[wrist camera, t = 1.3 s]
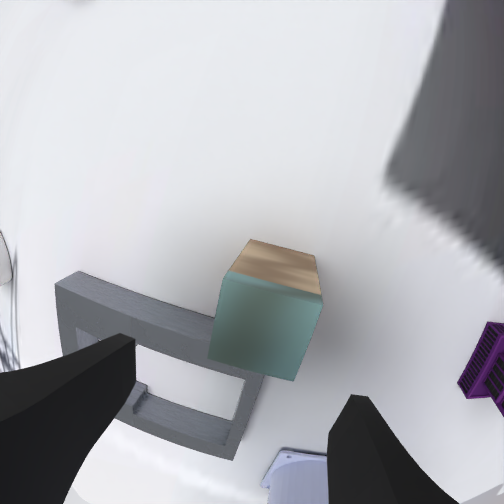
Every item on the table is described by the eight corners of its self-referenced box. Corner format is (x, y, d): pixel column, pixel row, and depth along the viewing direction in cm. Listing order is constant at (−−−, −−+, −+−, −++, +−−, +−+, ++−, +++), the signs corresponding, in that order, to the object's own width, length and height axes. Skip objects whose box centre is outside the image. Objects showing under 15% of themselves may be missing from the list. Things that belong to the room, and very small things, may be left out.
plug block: (314, 255, 18) (322, 305, 11) (296, 312, 19) (293, 381, 12) (250, 238, 18) (222, 278, 11) (237, 297, 19) (207, 358, 13)
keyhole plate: (273, 334, 20) (269, 359, 17) (238, 436, 23) (232, 460, 20) (78, 270, 21) (54, 283, 18) (86, 378, 24) (71, 394, 21)
